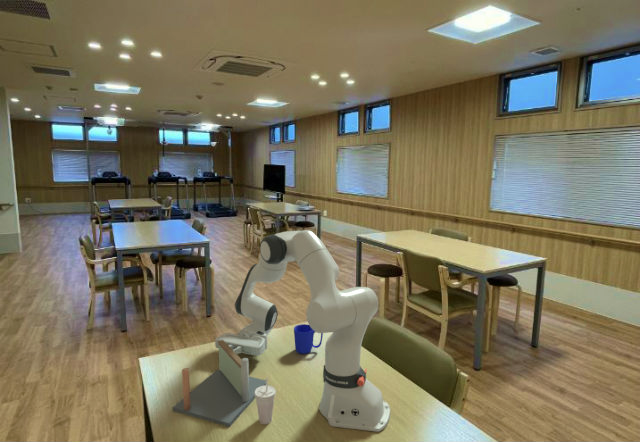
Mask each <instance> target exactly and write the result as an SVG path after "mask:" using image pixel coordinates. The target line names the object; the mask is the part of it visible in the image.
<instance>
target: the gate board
mask: <svg viewBox="0 0 640 442" xmlns="http://www.w3.org/2000/svg"><path fill="white" fill-rule="evenodd" d="M249 363H250V362H249V358H247V357H243V358H241V393H242V396H241V395H240V394H239V393H238V391H237V390H236V389H235V388H234V386H233V385H232V384H231V383H230V381H229V380H228V379H227V378H226V376H225V375H224V374H223V373H222V371H221V370H220V369H219V368H217V369H216V370H215V371H214V372H212V373H211V374H210V375H209V376H208V377H206V378H205V379H204V380H203V381H202V382H200V383H199V384H198V385H197V386H195V388H193V389H192V390H191V385H190V384H191V383H190V382H191V381H190V380H191V379H190V368H183V369H182V371H181V373H182V374H181V375H182V393H183V397H182V398H181V399H180V400H179V401H177V403H175V404H174V405H173V406H172V411H173V412H176V413H180V414H182V415H186V416H190V417H193V418H197V419H200V420H204V421H208V422H211V423H213V424H218V425H220V426H225V427H228V428H230V427H231V426H232V425H233V424H234V423H235V422H236V420H238V418H240V416H241V414H243V412H244V411H246V409H247V408H248V406H249V405H251V403H252V402H253V401H254V400H256V398H255V396H254V394H255V390H256V389H257V388H258V387H260V386H264V385H266V379H262V378H258V377H252V376H250V375H249V367H250V366H249Z"/></svg>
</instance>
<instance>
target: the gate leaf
mask: <svg viewBox="0 0 640 442" xmlns="http://www.w3.org/2000/svg"><path fill="white" fill-rule="evenodd" d="M218 344H219V348H218V361H219V362H218V363H219V365H218V369H219V370H221V371H222V373H223V374H224V375H225V376H226V378H227V379H228V380H229V381H230V383H231V384H232V385H233V386H234V388H235V389H236V390H237V391H238V393H239V394H240V395H241V396H242V393H241V359H242V358H241V357H240V356H239V355H238V354H236V353H235V352H234V351H233V350H232V349H231V348H230V347H229V346H228V345H227V344H226V343H225V342H224V340H220V341H218Z"/></svg>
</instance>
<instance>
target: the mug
mask: <svg viewBox="0 0 640 442" xmlns="http://www.w3.org/2000/svg"><path fill="white" fill-rule="evenodd" d="M315 333H316V332H315V331H314V330H313V329H312V328H311V327H310V326H309V324H308V323H307V324H305V323H304V324H303V323H302V324H297V325H295V326H294V327H293V336H294V348H295V351H296V352H297V353H298V354H301V355H305V354H309V353H310V352H311V351H312V350H313V348H314V349H318V348H320V347H321V345H322V342H323V335H324V333H320V339H319V344H317V345H315V344H314V336H315Z"/></svg>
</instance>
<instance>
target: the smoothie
mask: <svg viewBox="0 0 640 442" xmlns="http://www.w3.org/2000/svg"><path fill="white" fill-rule="evenodd" d="M265 380H266V385H264V386H260V387H258V388H257V389H256V390H255V394H254V396H255V401H256V406H257V407H256V408H257V409H256V410H257V413H258V421H259V423H260V424H261V425H268V424H270V423H271V422H272V419H273V410H274V404H275V397H276V396H277V395H276V392H277V391H276V390H277V389H276V388H275V387H274V386H272V385H269V381H268V377H265Z"/></svg>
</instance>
